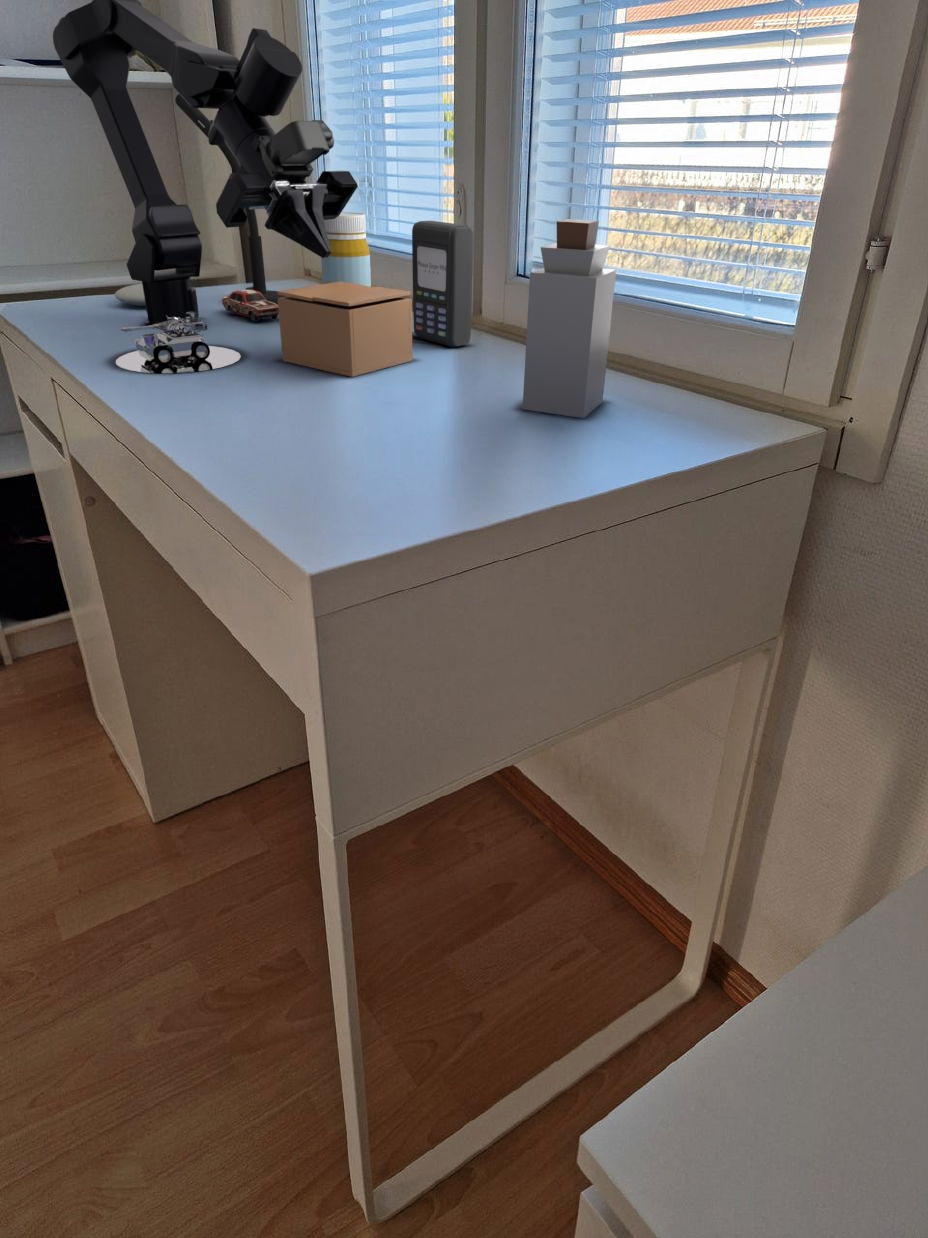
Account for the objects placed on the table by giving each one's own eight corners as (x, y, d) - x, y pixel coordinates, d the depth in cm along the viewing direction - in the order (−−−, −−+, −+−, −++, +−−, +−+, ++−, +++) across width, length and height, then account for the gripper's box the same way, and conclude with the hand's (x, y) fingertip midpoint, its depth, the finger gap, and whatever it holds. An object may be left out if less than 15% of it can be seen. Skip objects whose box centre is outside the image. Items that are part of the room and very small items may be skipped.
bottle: (376, 320, 128) (372, 212, 121) (367, 329, 122) (362, 216, 115) (331, 319, 129) (325, 211, 121) (320, 328, 123) (312, 215, 115)
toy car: (100, 353, 106) (91, 309, 103) (213, 340, 114) (207, 298, 111) (139, 379, 96) (130, 330, 93) (260, 362, 104) (255, 317, 101)
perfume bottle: (602, 402, 91) (621, 220, 82) (583, 418, 86) (601, 225, 77) (544, 394, 94) (556, 216, 85) (522, 409, 88) (532, 221, 79)
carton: (282, 361, 105) (276, 290, 101) (344, 346, 112) (341, 280, 108) (352, 377, 99) (348, 302, 94) (412, 360, 106) (411, 291, 102)
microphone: (263, 284, 156) (245, 95, 141) (302, 304, 139) (286, 91, 124) (199, 288, 152) (173, 92, 137) (231, 309, 134) (205, 88, 119)
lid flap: (277, 294, 101) (277, 290, 101) (341, 284, 108) (341, 281, 108) (311, 301, 98) (311, 297, 98) (374, 290, 105) (374, 287, 105)
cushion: (207, 300, 141) (205, 281, 139) (165, 312, 131) (161, 292, 129) (146, 295, 144) (143, 276, 142) (100, 307, 134) (96, 287, 132)
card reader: (409, 337, 118) (407, 220, 111) (431, 334, 120) (430, 219, 113) (450, 349, 112) (451, 226, 105) (473, 345, 115) (475, 225, 107)
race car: (254, 319, 135) (248, 288, 133) (284, 319, 126) (278, 286, 124) (225, 322, 133) (219, 291, 131) (253, 322, 123) (247, 289, 122)
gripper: (219, 87, 89) (299, 209, 88) (342, 95, 102) (413, 202, 101) (183, 168, 97) (257, 280, 96) (302, 166, 110) (367, 265, 109)
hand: (327, 255), depth 101 cm, fingers closed
